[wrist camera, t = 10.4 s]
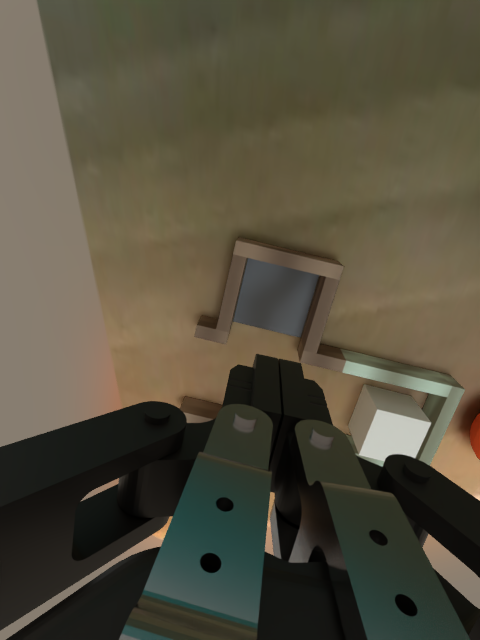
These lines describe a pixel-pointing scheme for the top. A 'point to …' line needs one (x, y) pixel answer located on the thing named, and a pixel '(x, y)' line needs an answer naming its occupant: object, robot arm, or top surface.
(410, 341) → the top surface
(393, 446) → the cream block
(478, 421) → the clementine
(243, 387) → the robot arm
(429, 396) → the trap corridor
